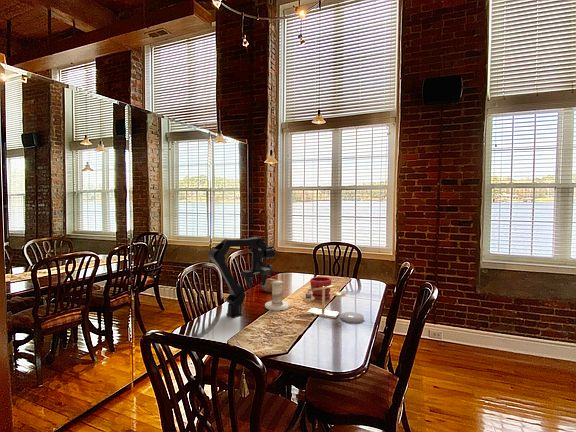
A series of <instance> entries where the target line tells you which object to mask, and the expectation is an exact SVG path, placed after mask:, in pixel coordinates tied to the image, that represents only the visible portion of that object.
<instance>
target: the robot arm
mask: <svg viewBox="0 0 576 432" xmlns="http://www.w3.org/2000/svg"><path fill="white" fill-rule="evenodd" d="M232 247H238V248H239V247H250V249H249V250H248V252H249V253H251V260H250V264H251V268H250V270H242V271H241V272H240V276H241V277H242V278H243V279H244V280H245V282H246V283H247V286H248V287H249V289H251V290H252V289H253V288H252V287H253V279H254V277H253V276H254V275H256V274H260V279H261V282H262V285H263V286H264V285H265V282H266V279H267V278H268V277H269V276H271V274H273V271H274V270H273V267H272V265H271V264H267V265H266V264H265V262H264V261H263V260H264V259H273V258H274V257H276V251H275V249H274V247H273V245H268V246H267V245H266V243H265V240H264V239H263V238H262V237H258V236H252V237H248V238H236V239H235V238H231V239H229V238H224V239H223V240H222V241H221V242H220V243H218V244H217V245H215V246H214V247H213V248H212V249H210V250H209V251H208V254H207V256H208V258H209V259H210V261H211V262H212V263H214V265H215V266H216V267H217V268H218V270H219V272H220V274H221V277H222V278H223V279H224V281H225V283H226V285H227V287H228V293H229V295H228V296H227V297H226V298H225V301H226V302H227V313H226V316H228V317H231V318H236V317H240V316H243V313H242V305H243V303H244V300H245V298H246V291H245V289H244V287H243V285H241V284H239V283H237V282H236V280H235V278H234V276H233V274H232V273H231V270H230V269H229V267H228V265H227V264H226V254H228V251H229V250H230V248H232Z"/></svg>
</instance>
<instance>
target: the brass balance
mask: <svg viewBox="0 0 576 432" xmlns="http://www.w3.org/2000/svg"><path fill="white" fill-rule="evenodd" d="M340 287H341V285H340V284H336V285H331V286H328V287H325V286H323V287H321V288H314V289H311V288H310V289H309V288H308V292H307V293H305V295H303V296H301V300H304V301H308V302H310V301H311V302H312V301H315V299H316V298H315V297H313V296H312V293H310V292H312V291H313V290H320V289H322V299H321V309H320V308H315V307H311V308H310V309H308V311H307V312H306V313H310V314H309V315H311V314H316V315H315V316H317V315H319V317H324V318H331V319H336V318H337V317H339V315H340V311H335V310H327V309H325V306H326V304H325V303H326V302H325V301H326V299H325V289H327V288H331V289H332V288H338V291H332V295H333V296H334V297H346V296H347V294H346V293H345V292H343V291H340Z"/></svg>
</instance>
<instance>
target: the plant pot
mask: <svg viewBox="0 0 576 432" xmlns="http://www.w3.org/2000/svg"><path fill="white" fill-rule="evenodd" d="M323 286H325V287H328V286H332V279H331V278H330V277H327V276H315V277H314V276H313V277H311V278H310V289H314V288H321V287H323ZM331 289H332V288H327V289H325V300H326V299H329V298H330V297H331V293H330V291H331ZM311 292H312V293H311V296H313V297H315V299H316V298H317V300H322V289H320V290H313V291H311Z"/></svg>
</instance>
